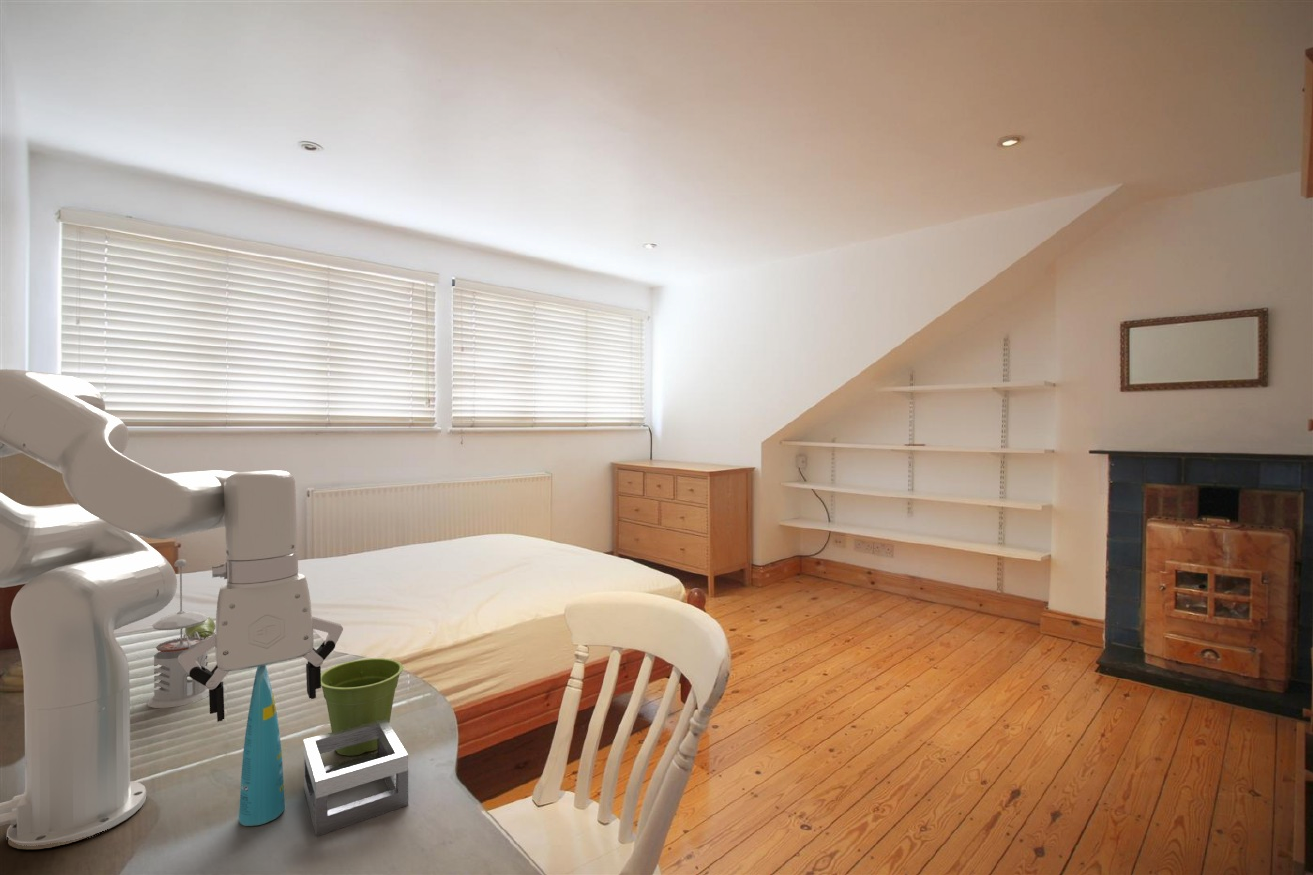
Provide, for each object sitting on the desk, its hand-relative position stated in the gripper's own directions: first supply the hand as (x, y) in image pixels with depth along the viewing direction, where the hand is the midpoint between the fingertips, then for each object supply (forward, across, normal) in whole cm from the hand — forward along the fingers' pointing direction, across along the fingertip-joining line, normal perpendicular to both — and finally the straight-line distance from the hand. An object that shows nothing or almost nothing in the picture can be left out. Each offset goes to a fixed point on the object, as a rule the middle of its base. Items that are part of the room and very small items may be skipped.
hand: (267, 705), depth 77 cm
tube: (+14, -1, 0) cm, 14 cm away
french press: (+13, -10, +50) cm, 53 cm away
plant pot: (+14, +13, +12) cm, 22 cm away
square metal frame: (+14, +9, -2) cm, 17 cm away
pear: (+13, -8, +86) cm, 88 cm away
